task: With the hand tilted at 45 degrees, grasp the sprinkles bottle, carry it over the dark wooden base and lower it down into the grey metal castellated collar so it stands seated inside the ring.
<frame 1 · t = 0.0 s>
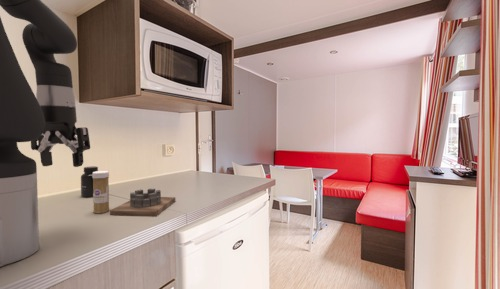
hand: (62, 166, 59), 17 cm above the worktop, tool pointing down, fingers open, 8 cm apart
supplement bottle: (91, 195, 92), on the worktop
sprinkles bottle: (101, 212, 74), on the worktop
collar base: (145, 207, 78), on the worktop
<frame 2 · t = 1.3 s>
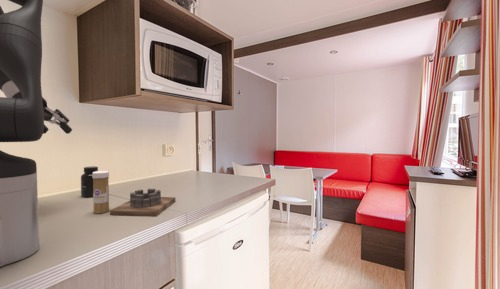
hand: (58, 131, 73), 26 cm above the worktop, tool tilted 45°, fingers open, 8 cm apart
nothing on the worktop moved.
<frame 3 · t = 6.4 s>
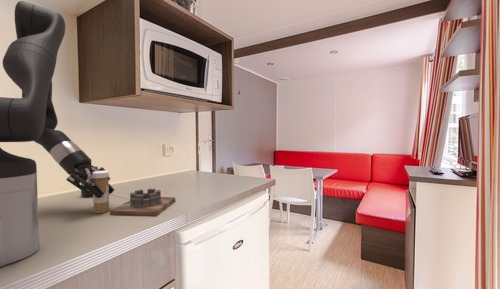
hand: (106, 194, 73), 6 cm above the worktop, tool tilted 45°, fingers closed on sprinkles bottle, 4 cm apart
sprinkles bottle: (101, 211, 74), on the worktop, touching gripper
everything else where it was.
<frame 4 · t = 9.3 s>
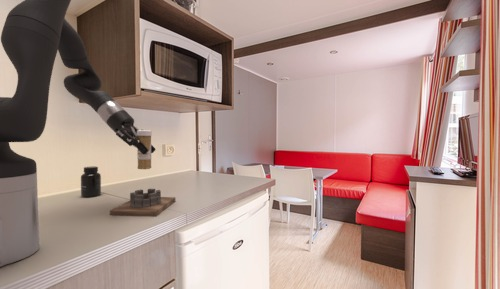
hand: (150, 151, 77), 20 cm above the worktop, tool tilted 45°, fingers closed on sprinkles bottle, 4 cm apart
sprinkles bottle: (144, 169, 77), point 14 cm above the worktop, touching gripper
everything else where it was.
when the fingers open (9 cm above the worktop, at t = 12.4 s): sprinkles bottle drops 2 cm, resting on collar base.
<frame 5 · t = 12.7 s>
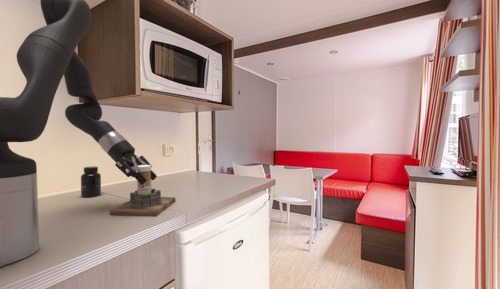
hand: (150, 180, 77), 10 cm above the worktop, tool tilted 45°, fingers open, 6 cm apart
sprinkles bottle: (144, 203, 78), point 1 cm above the worktop, touching collar base
everything else where it was.
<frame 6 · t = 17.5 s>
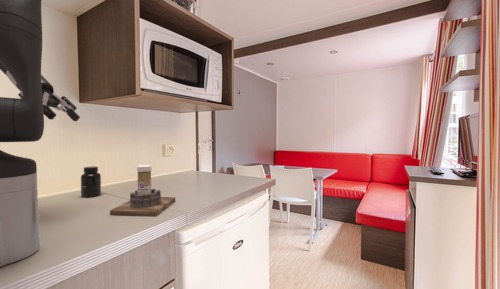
hand: (66, 118, 70), 31 cm above the worktop, tool tilted 45°, fingers open, 8 cm apart
nothing on the worktop moved.
at the end: sprinkles bottle 0.3 cm off-centre on the collar base, point 1.3 cm above the collar base's base; sprinkles bottle tilted 0°; the gripper is holding nothing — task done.
